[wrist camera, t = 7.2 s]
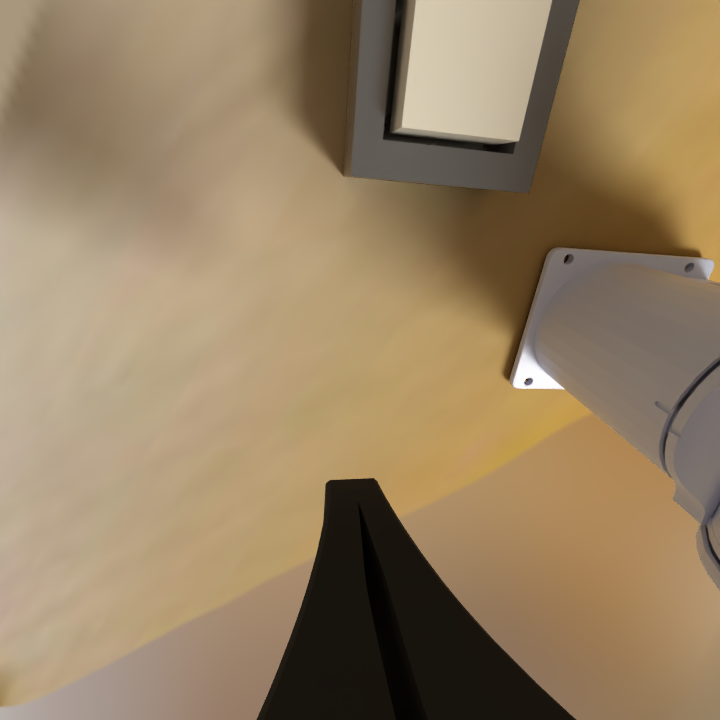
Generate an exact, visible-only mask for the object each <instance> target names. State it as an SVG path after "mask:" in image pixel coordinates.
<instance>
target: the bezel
mask: <svg viewBox="0 0 720 720" xmlns="http://www.w3.org/2000/svg"><path fill="white" fill-rule="evenodd" d="M579 1H580V0H552V4H551V8H550V12H549V16H548V20H547V25H546V29H545V33H544V37H543V42H542V46H541V50H540V54H539V58H538V63H537V67H536V71H535V75H534V80H533V84H532V88H531V92H530V97H529V101H528V105H527V109H526V113H525V118H524V122H523V126H522V130H521V135H520V139H519V141H517V142H511V143H505V144H499V145H493V146H492V145H487V150H486V151H479V150H470V149H461V148H452V147H443V146H434V145H425V144H416V143H407V142H398V141H389V140H383V131H384V120H385V110H386V100H387V89H388V79H389V68H390V58H391V47H392V37H393V27H394V16H395V6H396V0H356V4H355V20H354V37H353V54H352V71H351V88H350V104H349V121H348V138H347V155H346V172H345V176H349V177H359V178H370V179H380V180H391V181H402V182H412V183H423V184H433V185H444V186H454V187H465V188H475V189H486V190H496V191H508V192H521V193H529V192H530V188H531V184H532V180H533V177H534V173H535V169H536V165H537V161H538V158H539V154H540V150H541V146H542V142H543V138H544V135H545V131H546V127H547V123H548V119H549V115H550V112H551V108H552V104H553V100H554V96H555V92H556V89H557V85H558V81H559V77H560V73H561V69H562V66H563V62H564V58H565V54H566V50H567V47H568V43H569V39H570V35H571V31H572V27H573V24H574V20H575V16H576V12H577V8H578V4H579Z"/></svg>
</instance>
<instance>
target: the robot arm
mask: <svg viewBox="0 0 720 720" xmlns="http://www.w3.org/2000/svg"><path fill="white" fill-rule="evenodd" d="M567 255H569V258H568V260H567V261H566V262H565V263H564V258H565V256H567ZM686 265H687V267H686ZM685 267H686V268H685ZM713 268H714V262H713V260H711V259H707V258H700V257H686V256H672V255H659V254H645V253H631V252H618V251H604V250H590V249H576V248H563V247H557V248H554V249H552V250H551V251H550V252H549V253H548V254H547V257H546V260H545V263H544V266H543V270H542V273H541V276H540V280H539V283H538V286H537V290H536V293H535V296H534V300H533V303H532V306H531V310H530V313H529V316H528V320H527V323H526V326H525V329H524V333H523V336H522V339H521V343H520V346H519V349H518V353H517V356H516V359H515V363H514V366H513V369H512V373H511V376H510V384H511V385H512V386H513V387H514V388H518V389H565V390H566V391H568V392H569V393H570V394H571V395H572V396H574V397H575V398H576V399H577V400H578V401H580V402H581V403H582V404H583V405H584V406H586V407H587V408H588V409H589V410H590V411H592V412H593V413H594V414H595V415H596V416H598V417H599V418H600V419H601V420H602V421H604V422H605V423H606V424H607V425H608V426H609V427H611V428H612V429H613V430H614V431H616V432H617V433H618V434H619V435H620V436H621V437H623V438H624V439H625V440H626V441H627V442H629V443H630V444H631V445H632V446H633V447H635V448H636V449H637V450H638V451H639V452H641V453H642V454H643V455H644V456H645V457H647V458H648V459H649V460H650V461H651V462H653V463H654V464H655V465H656V466H657V467H659V468H660V469H661V470H662V471H663V472H665V473H666V474H667V475H668V476H669V477H671V478H672V479H673V480H674V482H675V486H676V490H675V494H674V496H673V500H674V501H675V502H676V503H677V504H679V505H680V506H681V507H682V508H683V509H684V510H685V511H687V512H688V513H689V514H690V515H691V516H692V517H693V518H694V519H696V520H697V521H698V522H699V523H700V525H699V526H698V530H697V534H696V544H697V550H698V553H699V557H700V560H701V562H702V564H703V566H704V567H705V569H706V571H707V573H708V575H709V576H710V578H711V579H712V580H713V582H714V583H715V585H716V586H717V588H718V589H719V590H720V283H718V282H715V281H711V280H708V278H709V276H710V274H711V272H712V270H713ZM527 378H529V380H528V381H526V382H524V381H525V380H526V379H527ZM257 720H576V719H575V718H574V717H573V716H571V715H570V714H569V713H568V712H567V711H566V710H565V709H564V708H563V707H562V706H561V705H560V704H558V703H557V702H556V701H555V700H554V699H553V698H552V697H551V696H550V695H549V694H548V693H547V692H546V691H544V690H543V689H542V688H541V687H540V686H539V685H538V684H537V683H536V682H535V681H534V680H533V679H532V678H531V677H530V676H529V675H528V674H527V673H526V672H525V671H524V670H523V669H522V668H521V667H520V666H519V665H518V664H517V663H516V662H515V661H514V660H513V659H512V658H511V657H510V656H509V655H508V654H507V653H506V652H505V651H504V650H503V649H502V648H501V647H500V646H499V645H498V644H497V643H496V642H495V641H494V640H493V639H492V638H491V637H490V636H489V634H488V633H487V632H486V631H485V630H484V629H483V628H482V627H481V626H480V625H479V623H478V622H477V621H476V620H475V619H474V618H473V617H472V616H471V615H470V613H469V612H468V611H467V610H466V609H465V608H464V607H463V605H462V604H461V603H460V602H459V601H458V600H457V598H456V597H455V596H454V595H453V594H452V592H451V591H450V590H449V588H448V587H447V586H446V585H445V584H444V582H443V581H442V580H441V578H440V577H439V576H438V574H437V573H436V572H435V570H434V569H433V568H432V567H431V565H430V564H429V563H428V561H427V560H426V559H425V557H424V556H423V554H422V553H421V552H420V550H419V549H418V547H417V546H416V544H415V543H414V541H413V540H412V538H411V537H410V535H409V534H408V533H407V531H406V530H405V528H404V527H403V525H402V523H401V522H400V520H399V519H398V517H397V516H396V514H395V512H394V511H393V509H392V507H391V506H390V504H389V502H388V501H387V499H386V497H385V495H384V494H383V492H382V490H381V488H380V486H379V484H378V482H377V481H376V480H375V479H374V478H369V479H345V480H330V481H328V482H327V483H326V488H325V506H324V522H323V527H322V532H321V537H320V541H319V546H318V550H317V554H316V558H315V562H314V565H313V569H312V572H311V576H310V580H309V583H308V586H307V590H306V593H305V596H304V599H303V602H302V606H301V608H300V611H299V614H298V617H297V620H296V623H295V626H294V628H293V631H292V634H291V637H290V640H289V642H288V645H287V647H286V650H285V652H284V655H283V658H282V660H281V663H280V665H279V668H278V671H277V673H276V676H275V678H274V680H273V683H272V685H271V688H270V690H269V693H268V695H267V697H266V700H265V702H264V704H263V706H262V709H261V711H260V713H259V716H258V718H257Z"/></svg>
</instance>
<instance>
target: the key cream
mask: <svg viewBox="0 0 720 720" xmlns="http://www.w3.org/2000/svg"><path fill="white" fill-rule="evenodd" d="M551 4H552V0H403V6H402V16H401V26H400V35H399V45H398V55H397V65H396V75H395V84H394V94H393V104H392V114H391V124H390V133H389V134H395V135H404V136H413V137H421V138H430V139H439V140H448V141H457V142H465V143H474V144H483V145H492V146H493V145H499V144H505V143H511V142H517V141H519V139H520V135H521V130H522V126H523V122H524V118H525V113H526V109H527V105H528V101H529V97H530V92H531V88H532V84H533V80H534V75H535V71H536V67H537V63H538V58H539V54H540V50H541V46H542V42H543V37H544V33H545V29H546V25H547V20H548V16H549V12H550V8H551Z"/></svg>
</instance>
